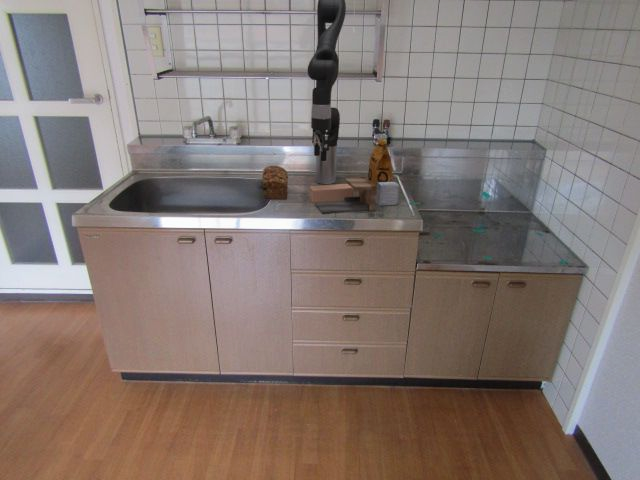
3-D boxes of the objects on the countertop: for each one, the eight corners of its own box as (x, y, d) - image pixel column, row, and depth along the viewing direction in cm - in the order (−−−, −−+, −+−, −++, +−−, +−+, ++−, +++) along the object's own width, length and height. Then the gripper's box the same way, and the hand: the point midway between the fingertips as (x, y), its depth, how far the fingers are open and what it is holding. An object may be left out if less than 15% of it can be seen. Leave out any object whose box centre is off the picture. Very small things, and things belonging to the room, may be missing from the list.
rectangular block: (308, 197, 183) (308, 186, 181) (348, 194, 188) (349, 183, 186) (312, 202, 178) (312, 190, 176) (354, 199, 183) (354, 187, 181)
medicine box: (393, 201, 182) (395, 181, 179) (397, 205, 178) (399, 184, 175) (375, 202, 181) (377, 182, 177) (378, 206, 177) (380, 185, 173)
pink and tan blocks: (314, 204, 176) (314, 180, 172) (362, 200, 182) (364, 177, 178) (323, 215, 166) (324, 189, 162) (374, 210, 172) (376, 185, 168)
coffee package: (369, 195, 189) (373, 144, 179) (365, 186, 200) (369, 137, 191) (392, 195, 189) (398, 144, 180) (387, 186, 200) (392, 138, 191)
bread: (263, 186, 197) (263, 164, 192) (287, 186, 197) (287, 164, 193) (262, 200, 180) (261, 176, 175) (288, 200, 181) (288, 176, 176)
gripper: (306, 113, 173) (306, 154, 179) (317, 119, 160) (316, 163, 167) (324, 113, 175) (323, 153, 182) (336, 119, 163) (335, 162, 169)
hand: (320, 158), depth 174 cm, fingers open, 8 cm apart
